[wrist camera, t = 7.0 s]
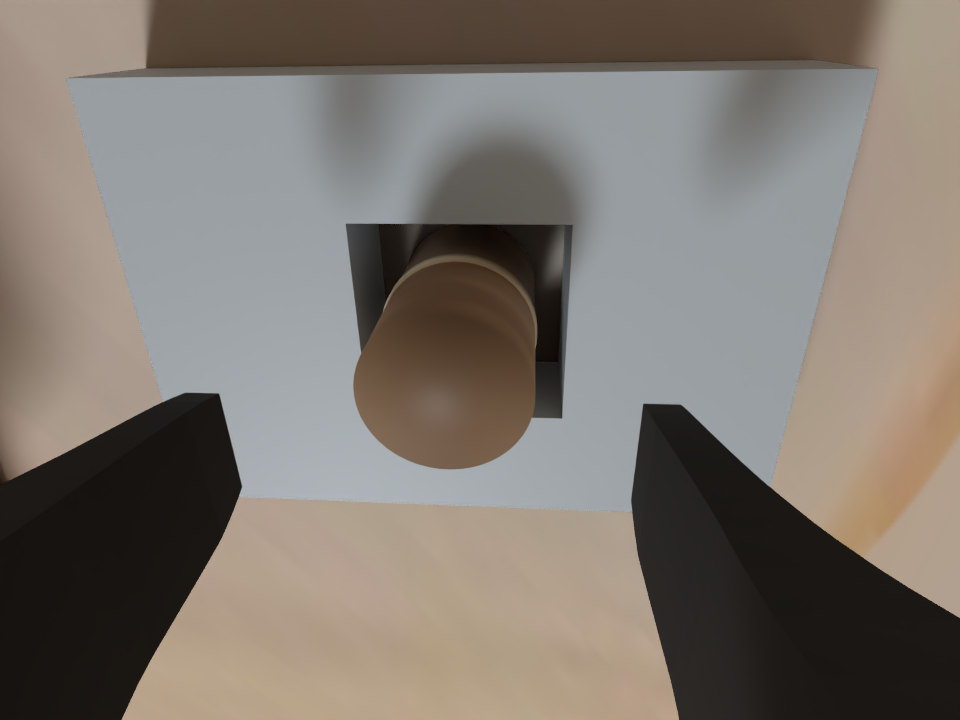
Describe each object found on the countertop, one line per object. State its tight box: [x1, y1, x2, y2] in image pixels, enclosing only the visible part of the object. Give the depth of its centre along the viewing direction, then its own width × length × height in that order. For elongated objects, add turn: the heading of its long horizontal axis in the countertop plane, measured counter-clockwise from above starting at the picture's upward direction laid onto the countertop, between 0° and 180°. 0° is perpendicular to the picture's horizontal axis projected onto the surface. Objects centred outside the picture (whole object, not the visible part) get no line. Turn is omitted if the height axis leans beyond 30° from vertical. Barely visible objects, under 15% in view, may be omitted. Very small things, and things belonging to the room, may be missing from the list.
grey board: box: [66, 60, 879, 512], centre depth 16 cm, size 11×16×3 cm
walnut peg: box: [353, 224, 537, 470], centre depth 15 cm, size 4×4×6 cm
